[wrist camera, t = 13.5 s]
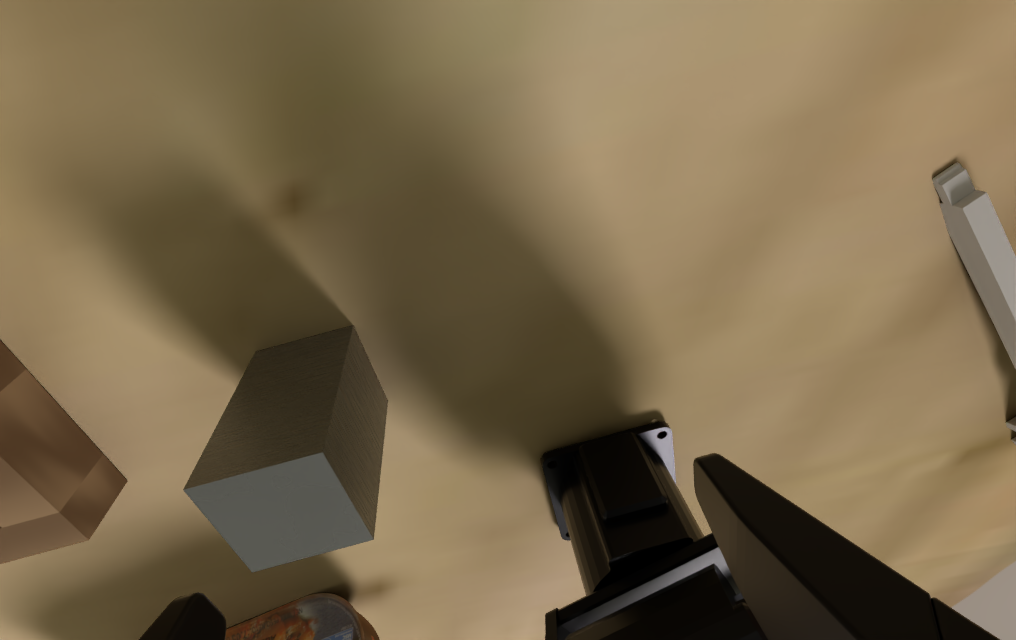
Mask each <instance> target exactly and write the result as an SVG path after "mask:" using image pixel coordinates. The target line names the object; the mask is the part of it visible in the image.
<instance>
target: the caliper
mask: <svg viewBox="0 0 1016 640" xmlns="http://www.w3.org/2000/svg"><path fill="white" fill-rule="evenodd" d="M933 184H934V186H935V188H936V190H937V192H938V194H939V196H940V198H941V200H942V202H941V203H940V207H941V210H942V213H943V217H944V220H945V223H946V227H947V230H948V233H949V235H950V237H951V239H952V241H953V243H954V245H955V247H956V249H957V251H958V253H959V255H960V257H961V259H962V261H963V263H964V265H965V267H966V269H967V271H968V273H969V275H970V277H971V279H972V281H973V283H974V285H975V287H976V289H977V291H978V293H979V295H980V297H981V299H982V301H983V303H984V305H985V307H986V309H987V311H988V313H989V315H990V317H991V320H992V322H993V324H994V326H995V328H996V330H997V332H998V334H999V336H1000V338H1001V340H1002V342H1003V344H1004V346H1005V348H1006V350H1007V352H1008V355H1009V357H1010V359H1011V361H1012V363H1013V365H1014V367H1015V369H1016V256H1015V254H1014V252H1013V249H1012V247H1011V245H1010V243H1009V241H1008V238H1007V236H1006V234H1005V232H1004V229H1003V227H1002V225H1001V223H1000V221H999V218H998V216H997V214H996V212H995V209H994V207H993V205H992V203H991V201H990V198H989V196H988V194H987V192H983V191H979V190H975V188H974V186H973V184H972V181H971V179H970V177H969V175H968V173H967V171H966V169H964V168H962V166H961V165H960V163H957V162H956V163H955V164H953V165H952V166H950V167H949V168H947V169H946V170H945V171H943V172H942V173H940V174H939V175H937V176H936V177H934V178H933ZM1006 425H1007V427H1008V428H1010V429H1012V430H1013V431H1015V432H1016V417H1015V418H1013V419H1011V420H1009V421H1007V422H1006ZM1011 440H1012V441H1013V442H1014V444H1015V445H1016V437H1015V438H1013V439H1011Z"/></svg>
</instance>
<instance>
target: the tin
mask: <svg viewBox="0 0 1016 640" xmlns="http://www.w3.org/2000/svg"><path fill="white" fill-rule="evenodd" d="M225 640H379V637H378V635H377V633H376V631H375V629H374V628H373V627H372V625H371V624H370V623H369V622H368V621H367V620H366V619H365V618H364V617H363V616H362V615H361V614H359V613H358V612H357V611H356V610H355V609H354V608H353V606H352V605H351V604H350V603H349V602H348V601H346V600H345V599H343V598H342V597H340V596H337V595H335V594H330V593H317V594H311V595H308V596H305V597H302V598H300V599H297V600H295V601H293V602H290V603H288V604H285V605H283V606H281V607H279V608H276V609H274V610H271V611H269V612H267V613H264V614H262V615H260V616H257V617H255V618H252V619H250V620H248V621H245V622H243V623H240V624H238V625H236V626H233V627H231V628H228V629H226V637H225Z"/></svg>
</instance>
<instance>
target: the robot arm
mask: <svg viewBox="0 0 1016 640" xmlns="http://www.w3.org/2000/svg"><path fill="white" fill-rule="evenodd" d="M661 431H662V432H661ZM659 432H661V433H659ZM550 461H553V462H550ZM541 463H542V467H543V471H544V475H545V478H546V482H547V486H548V489H549V493H550V497H551V500H552V504H553V508H554V511H555V515H556V519H557V522H558V526H559V530H560V534H561V537H562V539H564V540H571V543H572V546H573V550H574V554H575V557H576V561H577V564H578V568H579V571H580V575H581V579H582V582H583V586H584V589H585V593H586V596H585V597H583V598H581V599H579V600H577V601H575V602H573V603H571V604H569V605H567V606H565V607H563V608H561V609H558V608H556V609H554V610H552V611H550V612H548V613H546V614H545V624H546V635H545V640H1000V639H998V638H997V637H995V636H993V635H992V634H991V633H989V632H987V631H986V630H984V629H983V628H981V627H980V626H978V625H977V624H975V623H973V622H972V621H970V620H969V619H967V618H965V617H964V616H963V615H961V614H960V613H958V612H956V611H955V610H953V609H952V608H950V607H949V606H947V605H946V604H944V603H943V602H941V601H940V600H938V599H937V598H931V597H930V595H929V593H928V592H926V591H925V590H923V589H922V588H920V587H919V586H917V585H916V584H914V583H913V582H911V581H910V580H908V579H906V578H905V577H903V576H902V575H900V574H899V573H897V572H896V571H894V570H893V569H891V568H890V567H888V566H887V565H885V564H884V563H882V562H881V561H879V560H878V559H876V558H875V557H873V556H872V555H870V554H869V553H867V552H866V551H864V550H863V549H861V548H860V547H858V546H857V545H855V544H854V543H852V542H851V541H849V540H848V539H846V538H845V537H843V536H842V535H840V534H839V533H837V532H836V531H834V530H833V529H831V528H830V527H828V526H827V525H825V524H824V523H822V522H821V521H819V520H818V519H816V518H815V517H813V516H812V515H810V514H809V513H807V512H806V511H804V510H803V509H801V508H800V507H798V506H797V505H795V504H794V503H792V502H791V501H789V500H788V499H786V498H784V497H783V496H781V495H780V494H778V493H777V492H775V491H774V490H772V489H771V488H769V487H768V486H766V485H765V484H763V483H762V482H760V481H759V480H757V479H756V478H754V477H753V476H751V475H750V474H748V473H747V472H745V471H744V470H742V469H741V468H739V467H738V466H736V465H735V464H733V463H732V462H730V461H729V460H727V459H726V458H724V457H723V456H721V455H719V454H716V453H712V454H708V455H704V456H701V457H697V458H695V460H694V464H693V466H694V487H695V493H696V497H697V499H698V502H699V504H700V506H701V509H702V511H703V513H704V515H705V517H706V520H707V522H708V524H709V526H710V528H711V531H712V533H711V534H709V535H707V536H705V537H704V535H703V533H702V532H701V530H700V528H699V526H698V524H697V522H696V520H695V519H694V517H693V515H692V513H691V511H690V509H689V508H688V506H687V504H686V502H685V500H684V498H683V497H682V495H681V493H680V491H679V489H678V487H677V486H676V477H675V464H674V451H673V438H672V431H671V429H670V427H669V425H668V424H667V423H666V422H657V423H653V424H649V425H646V426H642V427H638V428H634V429H631V430H627V431H623V432H620V433H616V434H612V435H608V436H605V437H601V438H597V439H594V440H590V441H586V442H582V443H579V444H575V445H571V446H568V447H564V448H560V449H556V450H553V451H549V452H547V453H545V454H544V455H542V457H541ZM225 637H226V620H225V617H224V615H223V614H222V613H221V612H220V611H219V610H218V609H217V608H216V606H215V605H214V604H213V603H212V602H211V601H210V600H209V599H208V598H207V597H206V596H205V595H204V594H202V593H199V592H198V593H193V594H189V595H185V596H182V597H179V598H177V599H175V600H173V601H172V602H171V603H170V604H169V605H168V606H167V608H166V609H165V610H164V611H163V612H162V613H161V615H160V616H159V617H158V618H157V619H156V620H155V621H154V623H153V624H152V625H151V626H150V627H149V628H148V630H147V631H146V632H145V633H144V634H143V635H142V636H141V638H140V639H139V640H225Z"/></svg>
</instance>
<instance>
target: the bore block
mask: <svg viewBox="0 0 1016 640" xmlns="http://www.w3.org/2000/svg"><path fill="white" fill-rule="evenodd" d="M126 483H127V480H126V479H125V478H124V477H123V475H122V474H121V473H120V472H119V471H118V470H117V469H116V468H115V467H114V466H113V464H112V463H111V462H110V461H109V460H108V459H107V458H106V457H105V456H104V454H103V453H102V452H101V451H100V450H99V449H98V448H97V447H96V446H95V444H94V443H93V442H92V441H91V440H90V439H89V438H88V437H87V436H86V435H85V433H84V432H83V431H82V430H81V429H80V428H79V427H78V426H77V425H76V423H75V422H74V421H73V420H72V419H71V418H70V417H69V416H68V415H67V414H66V412H65V411H64V410H63V409H62V408H61V407H60V406H59V405H58V404H57V402H56V401H55V400H54V399H53V398H52V397H51V396H50V395H49V394H48V393H47V391H46V390H45V389H44V388H43V387H42V386H41V385H40V384H39V383H38V381H37V380H36V379H35V378H34V377H33V376H32V375H31V374H30V373H29V372H28V370H27V369H26V368H25V367H24V366H23V365H22V364H21V363H20V362H19V360H18V359H17V358H16V357H15V356H14V355H13V354H12V353H11V352H10V351H9V349H8V348H7V347H6V346H5V345H4V344H3V343H2V342H1V341H0V564H2V563H6V562H9V561H13V560H17V559H21V558H24V557H28V556H32V555H35V554H39V553H43V552H47V551H50V550H54V549H58V548H61V547H65V546H69V545H73V544H76V543H80V542H84V541H88V540H89V539H90V537H91V536H92V534H93V533H94V531H95V530H96V528H97V527H98V525H99V524H100V522H101V521H102V519H103V518H104V516H105V515H106V513H107V512H108V510H109V509H110V507H111V505H112V504H113V502H114V501H115V499H116V498H117V496H118V495H119V493H120V492H121V490H122V489H123V487H124V486H125V484H126Z"/></svg>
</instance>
